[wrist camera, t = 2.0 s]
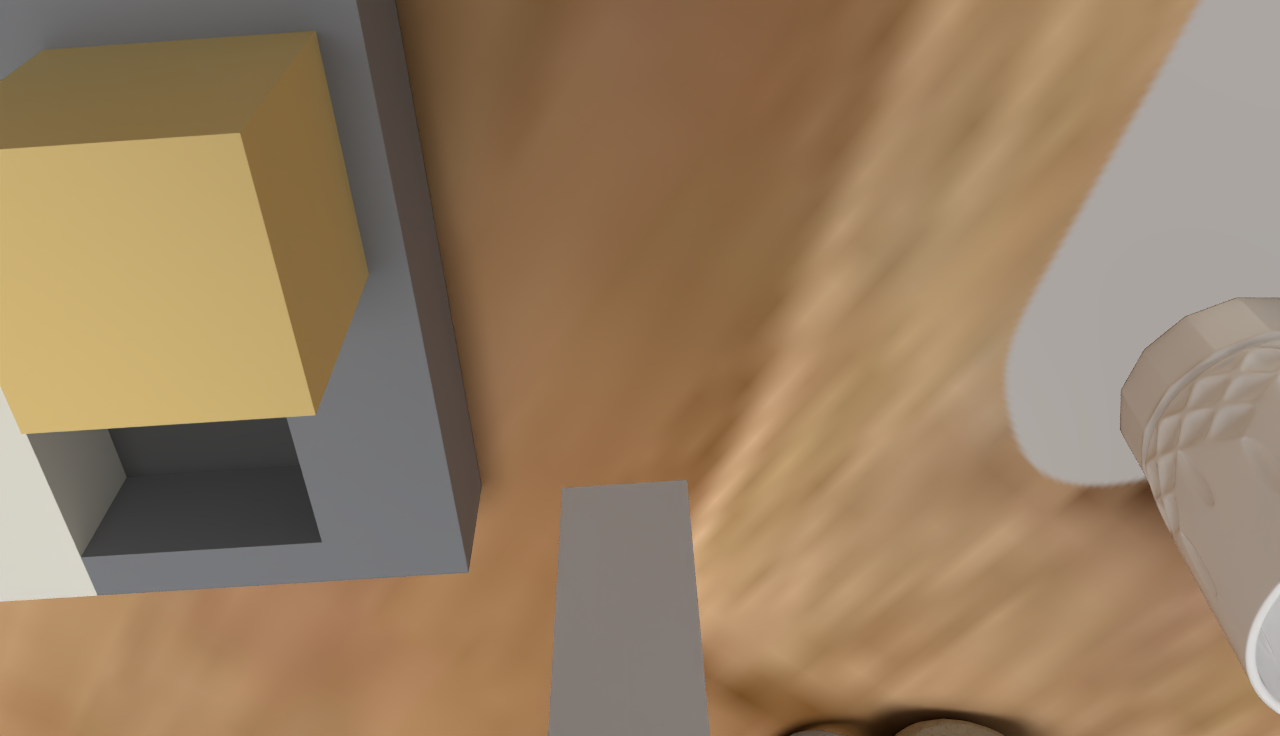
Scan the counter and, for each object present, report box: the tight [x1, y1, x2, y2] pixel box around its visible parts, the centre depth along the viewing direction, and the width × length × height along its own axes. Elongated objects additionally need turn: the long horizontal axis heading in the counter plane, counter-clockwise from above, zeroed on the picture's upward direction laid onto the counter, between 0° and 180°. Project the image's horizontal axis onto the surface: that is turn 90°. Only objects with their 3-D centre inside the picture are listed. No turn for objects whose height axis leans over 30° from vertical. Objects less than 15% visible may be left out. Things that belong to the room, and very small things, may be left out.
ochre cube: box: [0, 31, 369, 434], centre depth 24 cm, size 6×6×6 cm
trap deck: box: [0, 0, 482, 601], centre depth 27 cm, size 18×26×7 cm
